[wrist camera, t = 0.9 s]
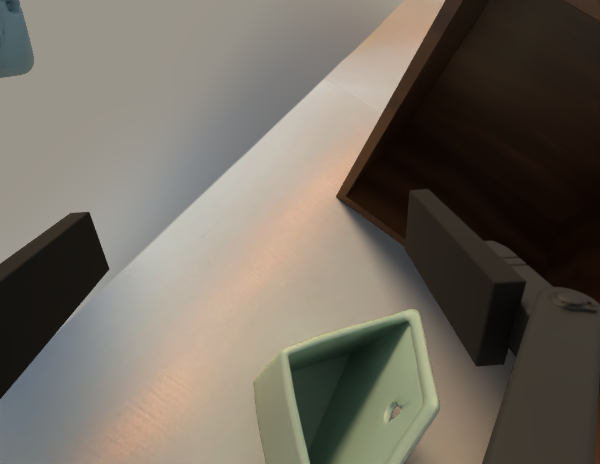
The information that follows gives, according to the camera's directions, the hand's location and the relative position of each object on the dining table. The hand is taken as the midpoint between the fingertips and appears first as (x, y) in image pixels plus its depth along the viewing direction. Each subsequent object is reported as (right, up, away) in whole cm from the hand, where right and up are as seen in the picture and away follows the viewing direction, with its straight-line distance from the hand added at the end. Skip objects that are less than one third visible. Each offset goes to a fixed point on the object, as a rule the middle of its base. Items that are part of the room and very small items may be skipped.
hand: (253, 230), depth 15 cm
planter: (+1, -17, +19) cm, 26 cm away
